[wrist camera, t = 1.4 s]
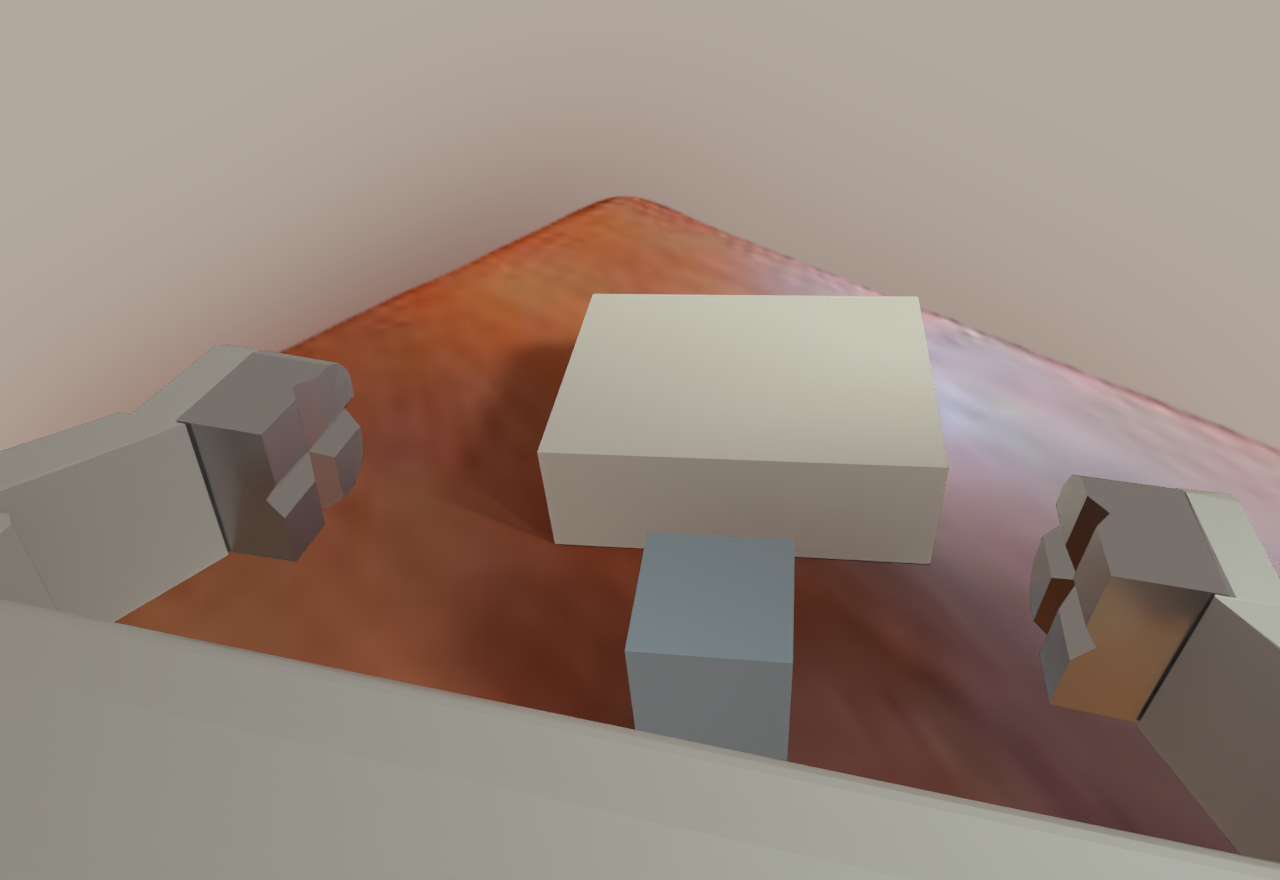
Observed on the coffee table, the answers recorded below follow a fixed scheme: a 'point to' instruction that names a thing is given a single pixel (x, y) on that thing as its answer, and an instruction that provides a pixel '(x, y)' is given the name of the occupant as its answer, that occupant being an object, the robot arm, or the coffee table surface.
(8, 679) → the robot arm
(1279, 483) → the coffee table surface
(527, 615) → the coffee table surface
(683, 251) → the coffee table surface
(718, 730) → the slate block
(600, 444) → the base
